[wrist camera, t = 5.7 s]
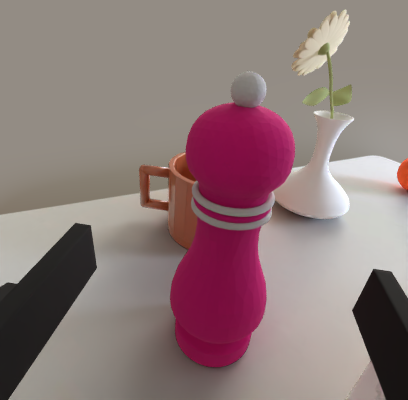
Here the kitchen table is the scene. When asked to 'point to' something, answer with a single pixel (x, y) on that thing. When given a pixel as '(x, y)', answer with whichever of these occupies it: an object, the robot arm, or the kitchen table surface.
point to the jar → (367, 386)
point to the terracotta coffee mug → (173, 197)
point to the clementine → (403, 174)
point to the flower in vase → (319, 129)
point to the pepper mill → (229, 223)
